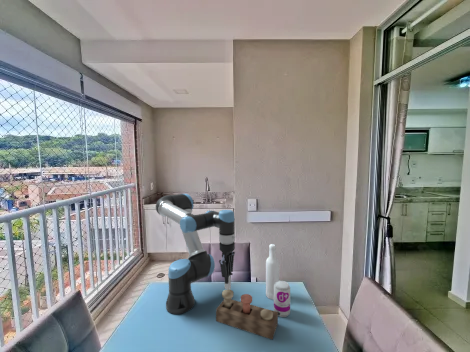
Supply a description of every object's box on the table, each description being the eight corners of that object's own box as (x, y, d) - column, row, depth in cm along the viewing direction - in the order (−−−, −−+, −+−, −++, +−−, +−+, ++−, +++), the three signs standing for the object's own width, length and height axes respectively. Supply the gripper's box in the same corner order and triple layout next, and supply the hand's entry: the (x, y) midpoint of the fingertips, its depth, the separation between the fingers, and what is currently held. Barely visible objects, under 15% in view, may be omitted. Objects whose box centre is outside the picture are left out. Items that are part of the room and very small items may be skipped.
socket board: (216, 321, 106) (215, 309, 106) (225, 308, 115) (225, 297, 115) (272, 339, 95) (272, 326, 94) (277, 324, 104) (277, 312, 103)
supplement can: (290, 319, 107) (290, 289, 106) (273, 316, 109) (273, 287, 108) (289, 308, 115) (289, 280, 114) (274, 306, 117) (273, 279, 116)
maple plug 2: (259, 330, 99) (259, 315, 99) (262, 321, 105) (262, 307, 104) (271, 333, 97) (271, 318, 97) (274, 325, 102) (274, 310, 102)
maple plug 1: (220, 308, 107) (220, 294, 107) (225, 301, 113) (225, 288, 112) (230, 311, 105) (230, 297, 105) (235, 304, 110) (235, 290, 110)
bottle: (280, 293, 129) (280, 243, 127) (278, 301, 121) (278, 248, 119) (267, 290, 131) (266, 241, 130) (264, 298, 124) (264, 246, 122)
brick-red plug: (238, 313, 103) (238, 299, 103) (243, 306, 108) (243, 293, 108) (249, 317, 101) (249, 302, 101) (254, 309, 106) (253, 295, 106)
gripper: (228, 247, 100) (228, 297, 101) (239, 238, 111) (239, 283, 113) (213, 245, 103) (214, 293, 104) (226, 236, 115) (226, 280, 116)
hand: (227, 288), depth 108 cm, fingers closed
